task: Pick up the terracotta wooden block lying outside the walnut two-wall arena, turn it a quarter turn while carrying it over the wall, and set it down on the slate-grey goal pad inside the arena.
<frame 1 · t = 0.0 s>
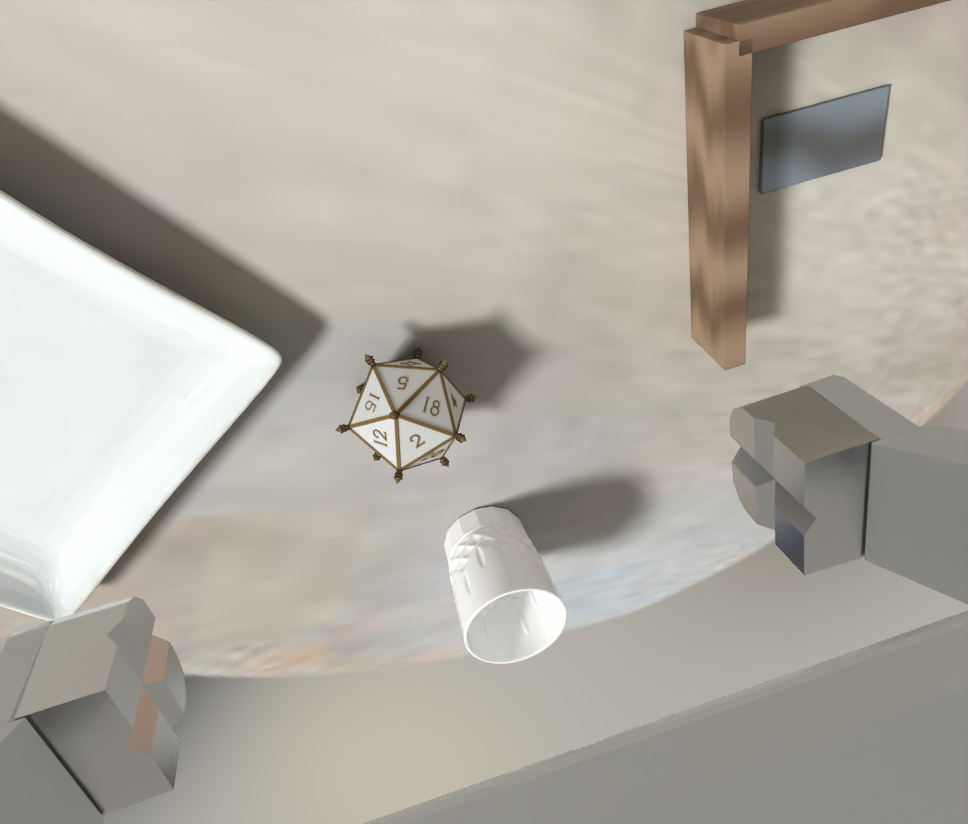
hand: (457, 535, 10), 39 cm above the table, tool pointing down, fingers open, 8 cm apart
white cup: (482, 534, 65), on the table
game die: (398, 380, 55), on the table
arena: (821, 139, 52), on the table
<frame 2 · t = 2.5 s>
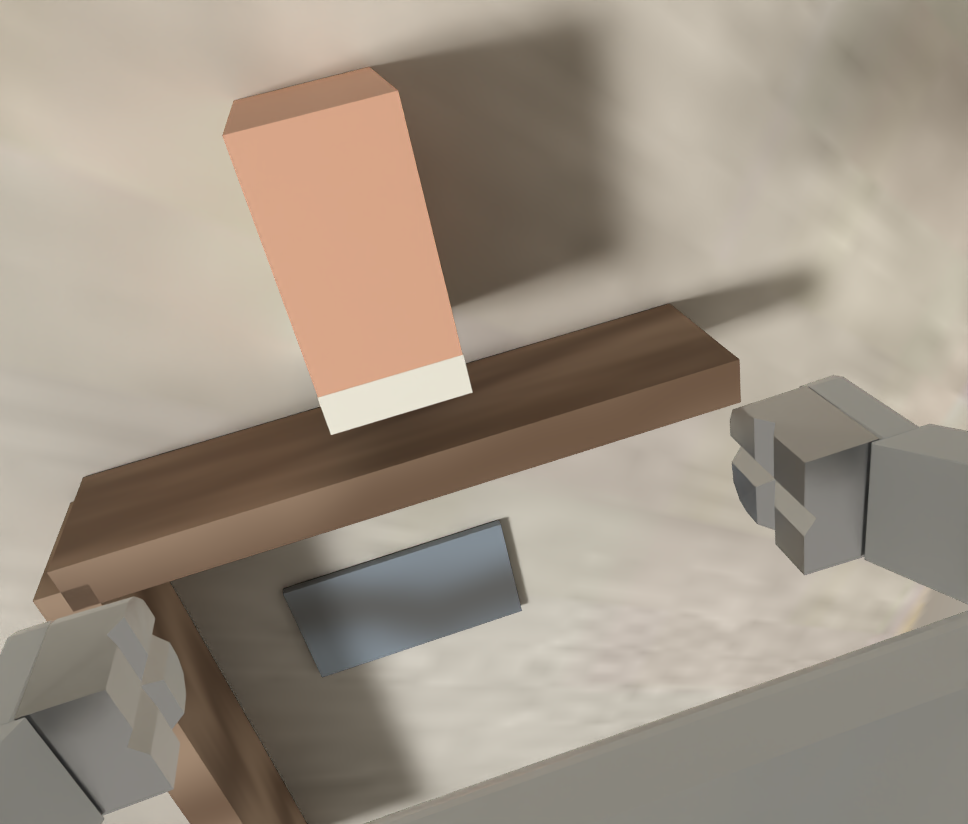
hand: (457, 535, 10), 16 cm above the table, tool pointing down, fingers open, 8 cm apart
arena: (407, 598, 32), on the table
block: (342, 217, 24), on the table
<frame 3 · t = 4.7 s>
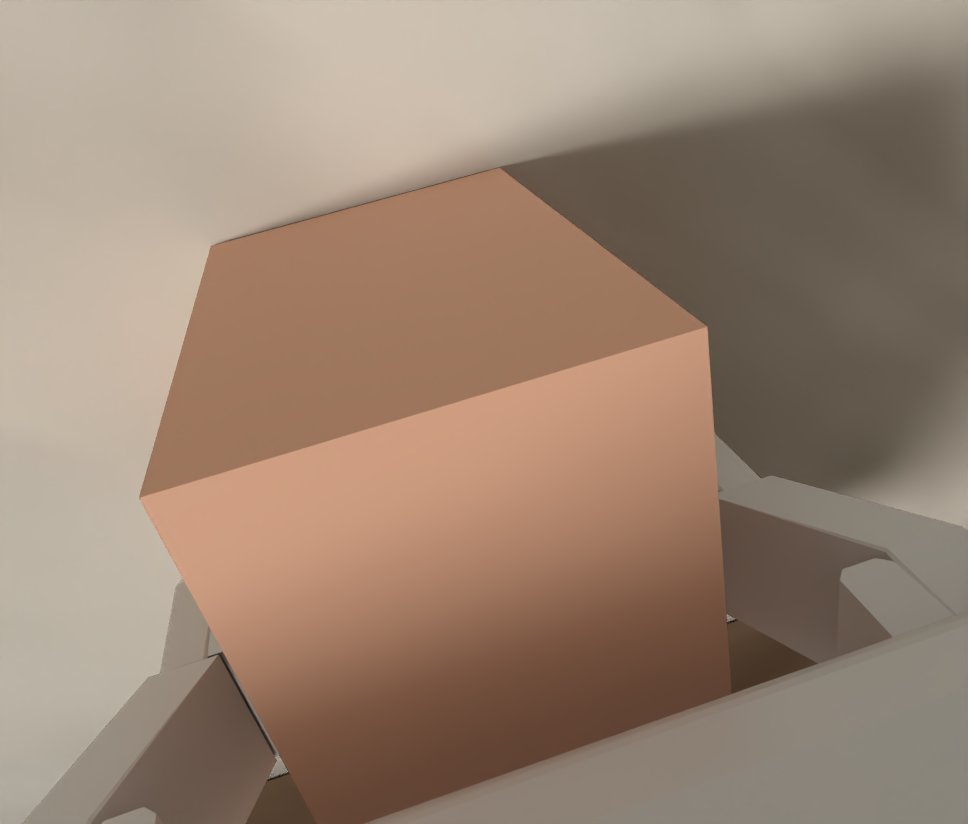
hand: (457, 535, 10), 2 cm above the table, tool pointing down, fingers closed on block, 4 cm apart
block: (429, 449, 12), on the table, touching gripper
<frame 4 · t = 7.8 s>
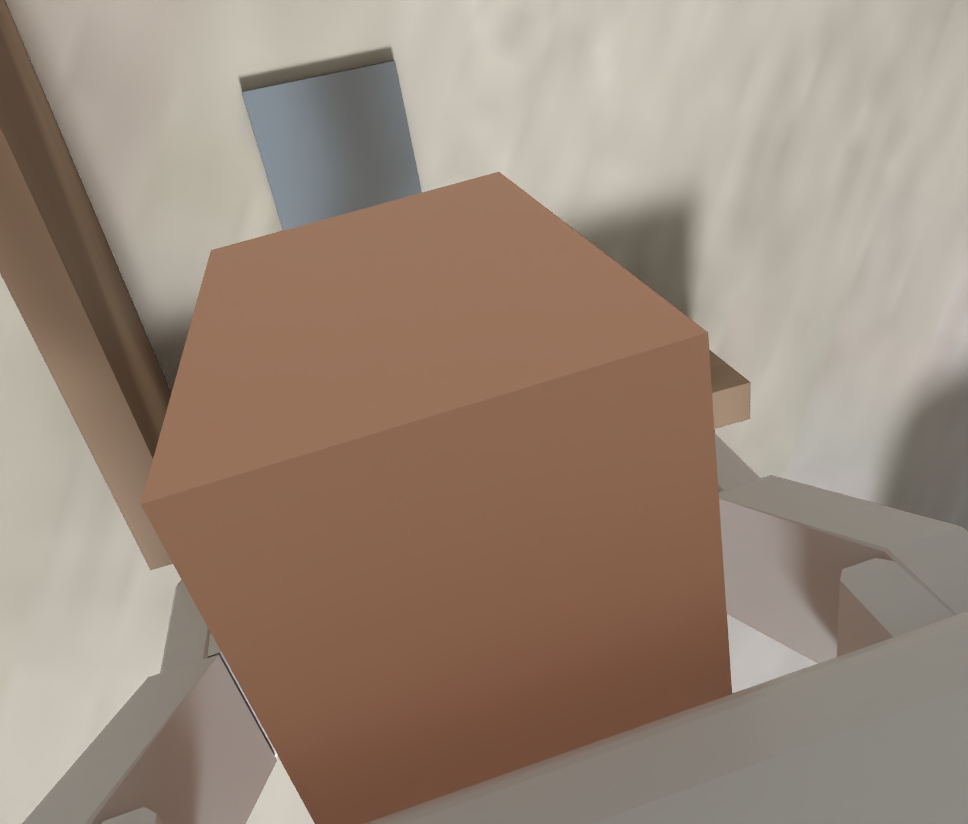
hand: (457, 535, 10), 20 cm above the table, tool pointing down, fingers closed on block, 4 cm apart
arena: (352, 211, 27), on the table
block: (429, 452, 12), point 17 cm above the table, touching gripper
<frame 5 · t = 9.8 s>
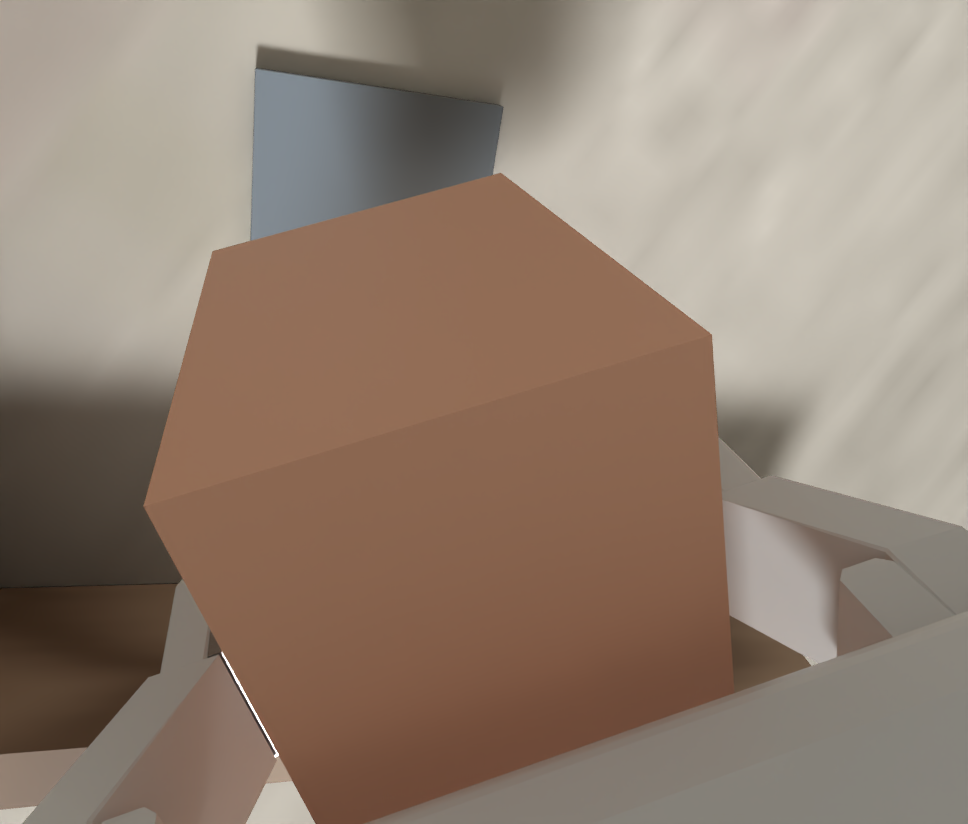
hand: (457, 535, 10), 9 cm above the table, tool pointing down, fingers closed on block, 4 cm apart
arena: (363, 296, 18), on the table
block: (430, 453, 12), point 7 cm above the table, touching gripper
when the fingers open (4 cm above the table, at t = 11.1 s): block drops 1 cm, resting on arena.
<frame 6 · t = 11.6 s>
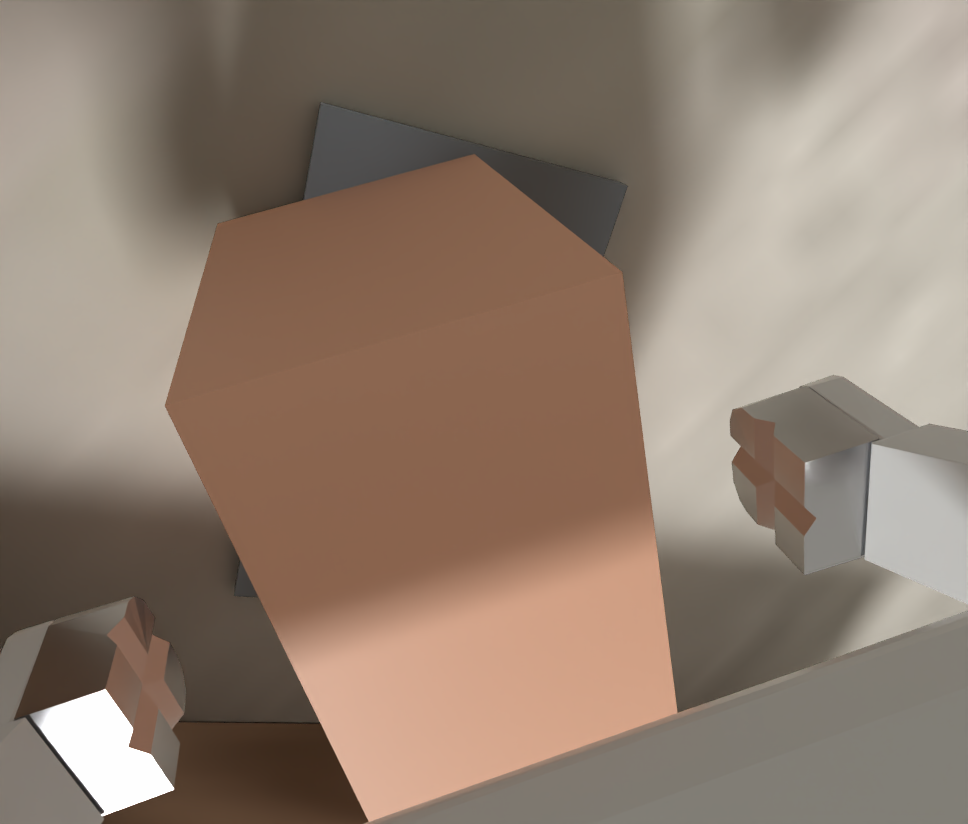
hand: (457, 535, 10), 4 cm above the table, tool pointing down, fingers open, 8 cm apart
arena: (414, 398, 14), on the table
block: (414, 410, 14), resting on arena
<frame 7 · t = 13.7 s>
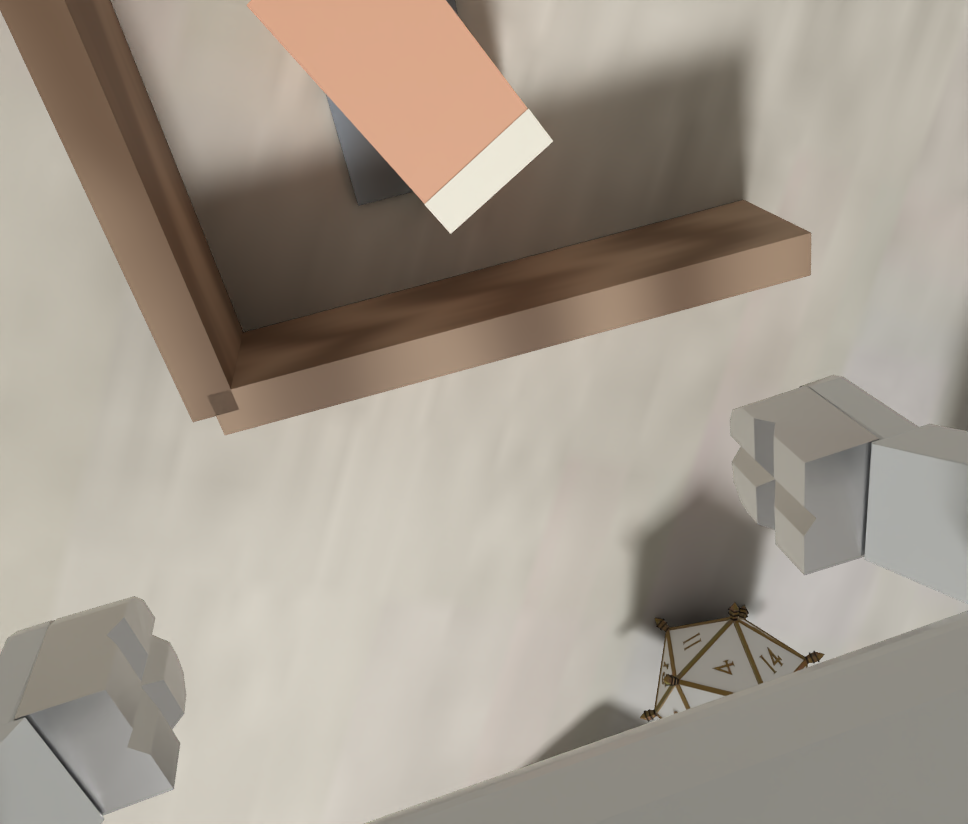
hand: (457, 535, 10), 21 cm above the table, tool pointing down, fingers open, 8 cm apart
game die: (694, 629, 43), on the table
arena: (391, 57, 27), on the table
block: (392, 61, 26), resting on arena
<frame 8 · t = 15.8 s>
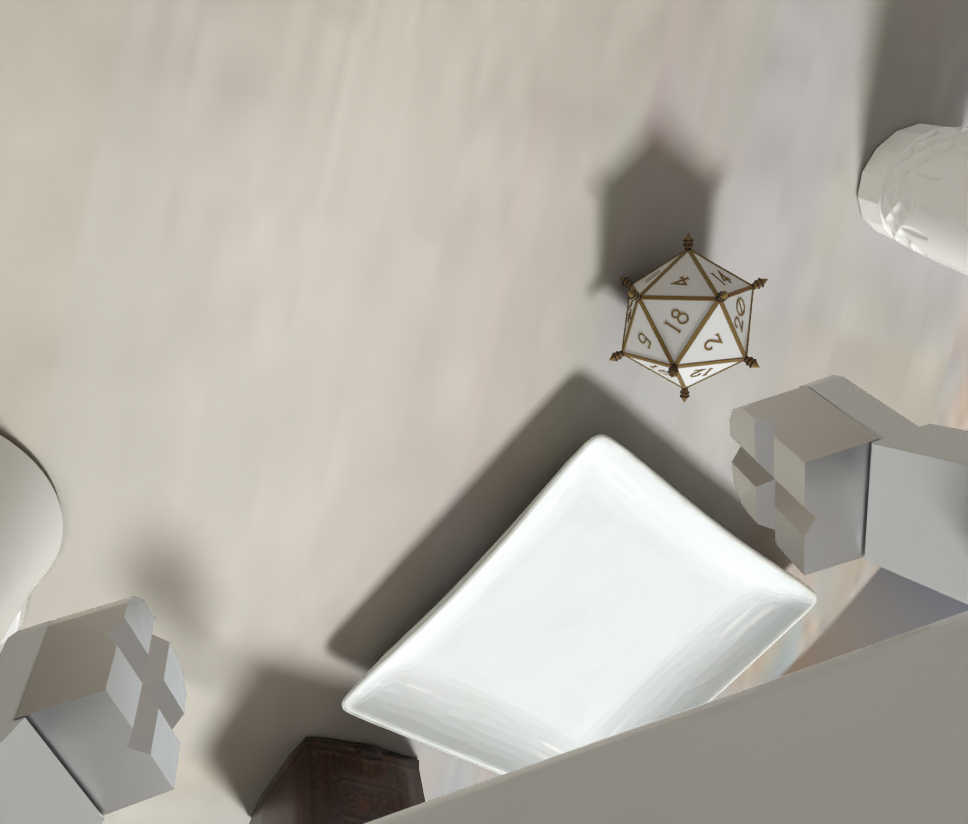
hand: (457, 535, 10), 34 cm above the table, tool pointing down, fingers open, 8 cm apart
white cup: (902, 179, 49), on the table
game die: (656, 296, 49), on the table
dark brown coffee grinder: (308, 778, 62), on the table
square plate: (577, 617, 61), on the table
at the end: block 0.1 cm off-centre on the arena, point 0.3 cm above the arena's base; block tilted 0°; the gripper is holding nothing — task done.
